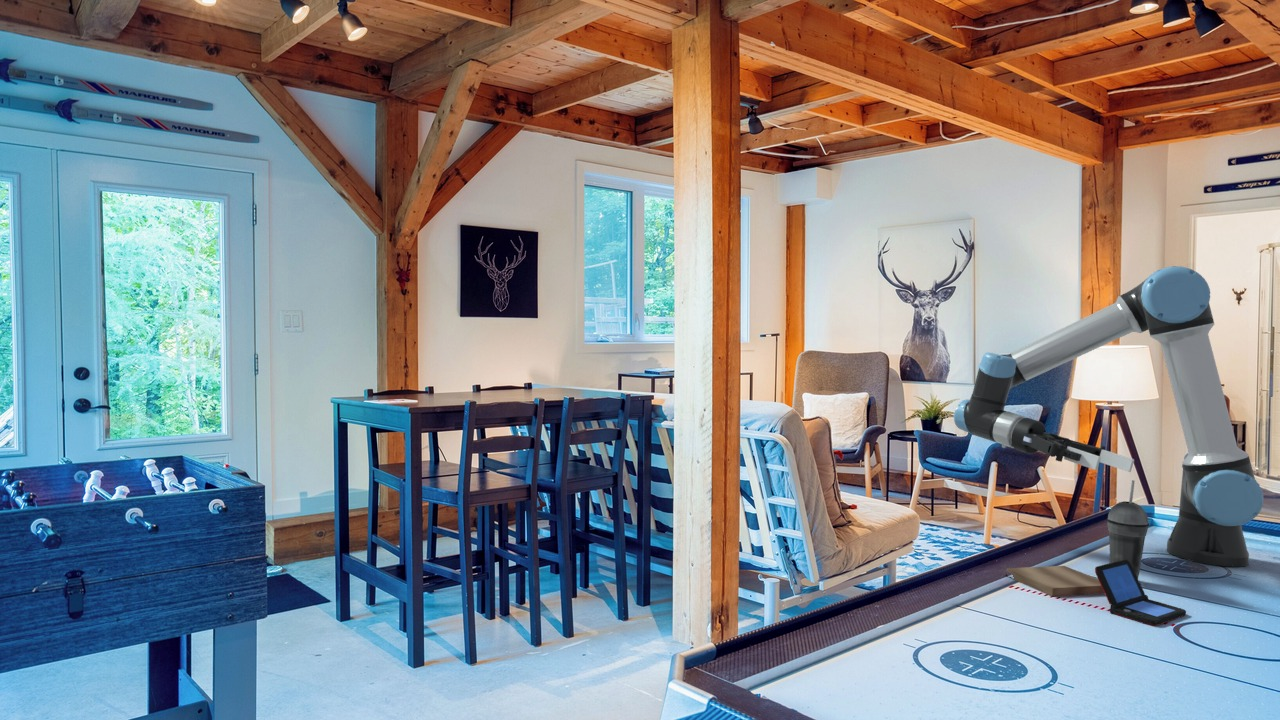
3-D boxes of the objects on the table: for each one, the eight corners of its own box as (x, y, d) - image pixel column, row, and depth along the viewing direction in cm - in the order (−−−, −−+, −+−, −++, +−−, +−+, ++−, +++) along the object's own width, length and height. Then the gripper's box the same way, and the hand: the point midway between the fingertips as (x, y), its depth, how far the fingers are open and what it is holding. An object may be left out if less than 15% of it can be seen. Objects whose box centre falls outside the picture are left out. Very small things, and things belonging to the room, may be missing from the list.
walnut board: (1063, 573, 168) (1064, 565, 168) (1113, 592, 157) (1113, 585, 157) (1005, 575, 164) (1006, 568, 164) (1052, 596, 153) (1052, 588, 153)
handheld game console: (1155, 628, 139) (1158, 584, 139) (1089, 608, 148) (1092, 566, 148) (1188, 616, 146) (1192, 574, 146) (1123, 597, 155) (1127, 558, 155)
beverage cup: (1134, 576, 168) (1140, 477, 168) (1153, 587, 161) (1159, 483, 161) (1096, 574, 169) (1102, 475, 168) (1113, 584, 162) (1119, 481, 161)
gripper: (1046, 451, 194) (1139, 483, 177) (982, 446, 180) (1077, 480, 163) (1055, 420, 193) (1150, 449, 176) (992, 413, 179) (1088, 443, 162)
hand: (1115, 464), depth 169 cm, fingers open, 13 cm apart
